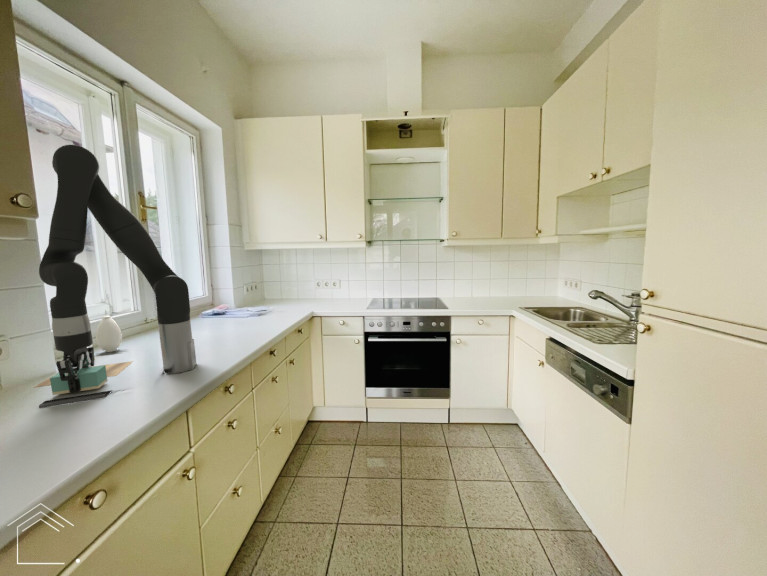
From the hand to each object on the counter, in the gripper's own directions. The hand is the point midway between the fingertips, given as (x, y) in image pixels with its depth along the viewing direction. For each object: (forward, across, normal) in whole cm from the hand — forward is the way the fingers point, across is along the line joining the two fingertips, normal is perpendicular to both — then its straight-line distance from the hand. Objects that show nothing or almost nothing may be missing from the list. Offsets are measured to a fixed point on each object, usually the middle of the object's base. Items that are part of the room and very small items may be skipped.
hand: (81, 387), depth 88 cm
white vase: (+3, +47, +10) cm, 48 cm away
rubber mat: (+2, 0, 0) cm, 2 cm away
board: (+2, +16, +5) cm, 17 cm away
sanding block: (0, 0, 0) cm, 0 cm away
